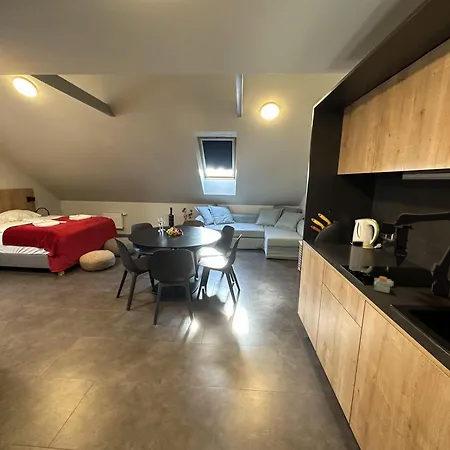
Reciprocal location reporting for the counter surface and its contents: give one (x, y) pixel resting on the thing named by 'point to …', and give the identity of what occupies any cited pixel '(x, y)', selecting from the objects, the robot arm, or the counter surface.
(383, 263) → the counter surface
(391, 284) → the clip
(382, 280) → the connector block
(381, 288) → the end holder
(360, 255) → the travel mug
